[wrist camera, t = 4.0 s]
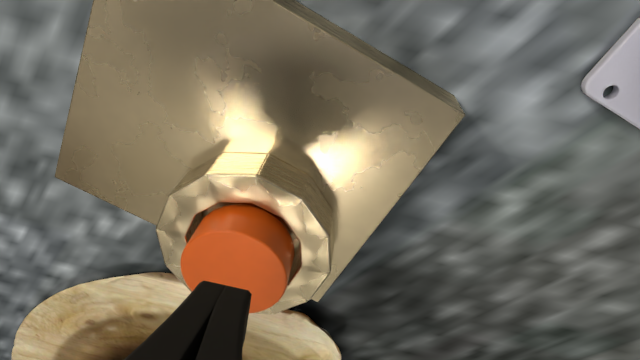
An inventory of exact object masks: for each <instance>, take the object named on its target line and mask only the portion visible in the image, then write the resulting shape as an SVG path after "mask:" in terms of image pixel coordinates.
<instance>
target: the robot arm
mask: <svg viewBox="0 0 640 360" xmlns="http://www.w3.org/2000/svg"><path fill="white" fill-rule="evenodd" d="M612 85H613V90H612V92H611V93H610V94H609V95H607V96H603V92H604V90H605V89H606V88H607V87H609V86H612ZM581 88H582V91H583V92H584V94H586V95H587V96H589V97H590V98H592V99H593V100H595V101H596V102H598V103H600V104H601V105H603V106H604V107H606V108H607V109H609V110H611V111H612V112H614V113H615V114H617V115H618V116H620V117H622V118H623V119H625V120H626V121H628V122H629V123H631V124H633V125H634V126H636V127H637V128H639V129H640V17H639V18H638V19H637V20H636V21H635V22H634V23H633V24H632V25H631V27H630V28H629V29H628V30H627V31H626V32H625V33H624V34H623V35H622V36H621V38H620V39H619V40H618V41H617V42H616V43H615V44H614V45H613V46H612V47H611V49H610V50H609V51H608V52H607V53H606V54H605V55H604V56H603V57H602V59H601V60H600V61H599V62H598V63H597V64H596V65H595V66H594V67H593V68H592V70H591V71H590V72H589V73H588V74H587V75H586V76H585V78H584V79H583V81H582V84H581ZM251 296H252V294H251V293H250V292H249V291H248V290H245V289H240V288H236V287H231V286H227V285H222V284H218V283H213V282H209V281H202V282H200V283H199V284H198V285H197V286H196V287H195V289H194V290H193V291H192V292H191V293H190V294H189V296H188V297H187V298H186V299H185V300H184V301H183V302H182V303H181V305H180V306H179V307H178V308H177V309H176V310H175V311H174V312H173V313H172V314H171V315H170V316H169V317H168V318H167V319H166V320H165V321H164V322H163V323H162V324H161V325H160V326H159V327H158V328H157V329H156V330H155V331H154V332H153V333H152V334H151V335H150V336H149V337H148V338H147V339H146V340H145V341H144V342H143V343H142V344H141V345H140V346H138V347H137V348H136V349H135V350H134V351H133V352H132V353H131V354H129V355H128V356H127V357H126V358H125V359H124V360H242V348H243V344H244V340H245V335H246V328H247V322H248V315H249V309H250V303H251Z"/></svg>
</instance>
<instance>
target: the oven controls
mask: <svg viewBox="0 0 640 360" xmlns="http://www.w3.org/2000/svg"><path fill="white" fill-rule="evenodd" d="M464 116H465V113H464V112H463V110H462V108H461V107H460V105H459V103H458V101H457V100H456V98H455V96H454V95H452V94H451V93H449V92H447V91H446V90H444V89H442V88H441V87H439V86H437V85H436V84H434V83H432V82H431V81H429V80H427V79H426V78H424V77H422V76H421V75H419V74H417V73H416V72H414V71H412V70H411V69H409V68H407V67H406V66H404V65H402V64H401V63H399V62H397V61H396V60H394V59H392V58H391V57H389V56H387V55H386V54H384V53H382V52H381V51H379V50H377V49H375V48H374V47H372V46H370V45H369V44H367V43H365V42H364V41H362V40H360V39H359V38H357V37H355V36H354V35H352V34H350V33H349V32H347V31H345V30H344V29H342V28H340V27H339V26H337V25H335V24H334V23H332V22H330V21H329V20H327V19H325V18H324V17H322V16H320V15H319V14H317V13H315V12H314V11H312V10H310V9H309V8H307V7H305V6H304V5H302V4H300V3H299V2H297V1H295V0H93V4H92V9H91V14H90V18H89V23H88V27H87V32H86V36H85V41H84V45H83V50H82V54H81V59H80V64H79V68H78V73H77V77H76V82H75V86H74V91H73V95H72V100H71V104H70V109H69V114H68V118H67V123H66V127H65V132H64V136H63V141H62V145H61V150H60V154H59V159H58V164H57V168H56V173H55V177H56V178H58V179H60V180H62V181H64V182H66V183H68V184H71V185H73V186H75V187H77V188H79V189H81V190H83V191H85V192H87V193H89V194H92V195H94V196H96V197H98V198H100V199H102V200H104V201H106V202H108V203H110V204H113V205H115V206H117V207H119V208H121V209H123V210H125V211H127V212H129V213H131V214H134V215H136V216H138V217H140V218H142V219H144V220H146V221H148V222H150V223H152V224H155V225H156V233H157V236H158V240H159V244H160V247H161V251H162V255H163V258H164V262H165V264H166V266H167V267H168V269H169V270H170V271H171V272H172V273H173V274H174V275H175V276H176V277H177V278H178V279H179V280H180V281H181V282H182V283H183V284H184V285H185V286H186V287H187V288H188V290H189V291H190V292H192V290H191V289H190V288H189V287H188V285H187V284H186V282H185V280H184V278H183V275H182V272H181V255H182V252H183V250H184V248H185V246H186V245H187V243H188V242H189V240H190V238H191V237H192V235H193V234H194V232H195V230H196V229H197V227H198V226H199V224H200V222H201V221H202V219H203V218H204V217H205V216H206V215H207V214H209V213H210V212H211V211H213V210H215V209H217V208H220V207H223V206H226V205H233V204H241V205H249V206H253V207H257V208H260V209H262V210H264V211H266V212H268V213H270V214H272V215H273V216H274V217H276V218H277V219H278V220H279V221H280V222H281V223H282V224H283V225H284V226H285V227H286V229H287V230H288V232H289V233H290V235H291V237H292V240H293V243H294V259H293V263H292V267H291V271H290V276H289V280H288V284H287V288H286V290H285V293H284V294H283V296H282V297H281V299H280V300H279V301H278V302H277V303H276V304H274V305H273V306H272V307H270V308H268V309H266V310H263V311H260V312H256V313H254V314H269V315H272V314H276V313H279V312H281V311H284V310H287V309H290V308H292V307H295V306H298V305H300V304H303V303H306V302H308V300H310V299H312V300H314V301H316V302H319V300H320V299H321V298H322V297H323V295H324V294H325V293H326V291H327V290H328V289H329V288H330V286H331V285H332V284H333V283H334V281H335V280H336V279H337V278H338V276H339V275H340V274H341V272H342V271H343V270H344V269H345V267H346V266H347V265H348V264H349V262H350V261H351V260H352V258H353V257H354V256H355V255H356V253H357V252H358V251H359V250H360V248H361V247H362V246H363V244H364V243H365V242H366V241H367V239H368V238H369V237H370V236H371V234H372V233H373V232H374V230H375V229H376V228H377V227H378V225H379V224H380V223H381V222H382V220H383V219H384V218H385V217H386V215H387V214H388V213H389V211H390V210H391V209H392V208H393V206H394V205H395V204H396V203H397V201H398V200H399V199H400V197H401V196H402V195H403V194H404V192H405V191H406V190H407V189H408V187H409V186H410V185H411V183H412V182H413V181H414V180H415V178H416V177H417V176H418V175H419V173H420V172H421V171H422V169H423V168H424V167H425V166H426V164H427V163H428V162H429V161H430V159H431V158H432V157H433V155H434V154H435V153H436V152H437V150H438V149H439V148H440V147H441V145H442V144H443V143H444V142H445V140H446V139H447V138H448V136H449V135H450V134H451V133H452V131H453V130H454V129H455V128H456V126H457V125H458V124H459V122H460V121H461V120H462V119H463V117H464Z"/></svg>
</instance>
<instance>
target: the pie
mask: <svg viewBox="0 0 640 360" xmlns="http://www.w3.org/2000/svg"><path fill="white" fill-rule="evenodd" d="M190 293H191V292H190V291H189V290H188V288H187V287H186V286H185V285H184V284H183V283H182V282H181V281H180V280H179V279H178V278H177V277H176V276H175V275H174V274H172V273H163V272H151V273H142V274H135V275H128V276H120V277H112V278H108V279H101V280H96V281H92V282H88V283H83V284H79V285H77V286H74V287H71V288H68V289H65V290H63V291H61V292H59V293H57V294H55V295H53V296H51V297H50V298H48V299H46V300H45V301H43V302H42V303H40V304H39V305H38V306H36V307H35V308H34V309H33V310H32V311H31V312H30V313H29V314H28V316H27V317H26V318H25V319H24V321H23V322H22V324H21V326H20V327H19V329H18V331H17V333H16V337H15V341H14V345H15V346H14V348H13V350H12V360H124V359H125V358H126V357H127V356H128V355H129V354H131V353H132V352H133V351H134V350H135V349H136V348H137V347H138V346H140V345H141V344H142V343H143V342H144V341H145V340H146V339H147V338H148V337H149V336H150V335H151V334H152V333H153V332H154V331H155V330H156V329H157V328H158V327H159V326H160V325H161V324H162V323H163V322H164V321H165V320H166V319H167V318H168V317H169V316H170V315H171V314H172V313H173V312H174V311H175V310H176V309H177V308H178V307H179V306H180V305H181V303H182V302H183V301H184V300H185V299H186V298H187V297H188V296H189V294H190ZM242 360H341V354H340V350H339V348H338V346H337V345H336V344H335V343H334V341H333V339H332V338H331V336H330V334H329V333H328V332H327V331H326V330H325V329H323V328H321V327H319V326H318V325H317V324H316V323H315V322H314V321H313V320H312V319H311V318H309V317H308V316H307V315H306V314H304V313H301V312H295V311H291V310H288V309H287V310H284V311H281V312H279V313H276V314H272V315H269V314H254V313H249V315H248V322H247V328H246V335H245V340H244V344H243V348H242Z"/></svg>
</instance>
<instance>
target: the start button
mask: <svg viewBox="0 0 640 360" xmlns="http://www.w3.org/2000/svg"><path fill="white" fill-rule="evenodd" d="M293 259H294V243H293V240H292V237H291V235H290V233H289V232H288V230H287V229H286V227H285V226H284V225H283V224H282V223H281V222H280V221H279V220H278V219H277V218H276V217H274V216H273V215H272V214H270V213H268V212H266V211H264V210H262V209H260V208H257V207H253V206H249V205H241V204H233V205H226V206H223V207H220V208H217V209H215V210H213V211H211V212H210V213H209V214H207V215H206V216H205V217H204V218H203V219H202V221H201V222H200V224H199V226H198V227H197V229H196V230H195V232H194V234H193V235H192V237H191V238H190V240H189V242H188V243H187V245H186V246H185V248H184V250H183V252H182V255H181V272H182V275H183V278H184V280H185V282H186V284H187V285H188V287H189V288H190V289H191V290H192V291H193V290H194V289H195V287H196V286H197V285H198V284H199V283H200V282H202V281H209V282H213V283H218V284H222V285H227V286H231V287H236V288H240V289H245V290H248V291H249V292H250V293H251V294H252V296H251V303H250V309H249V313H256V312H260V311H263V310H266V309H268V308H270V307H272V306H273V305H274V304H276V303H277V302H278V301H279V300H280V299H281V297H282V296H283V294H284V293H285V290H286V288H287V284H288V280H289V276H290V271H291V267H292V263H293Z"/></svg>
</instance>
